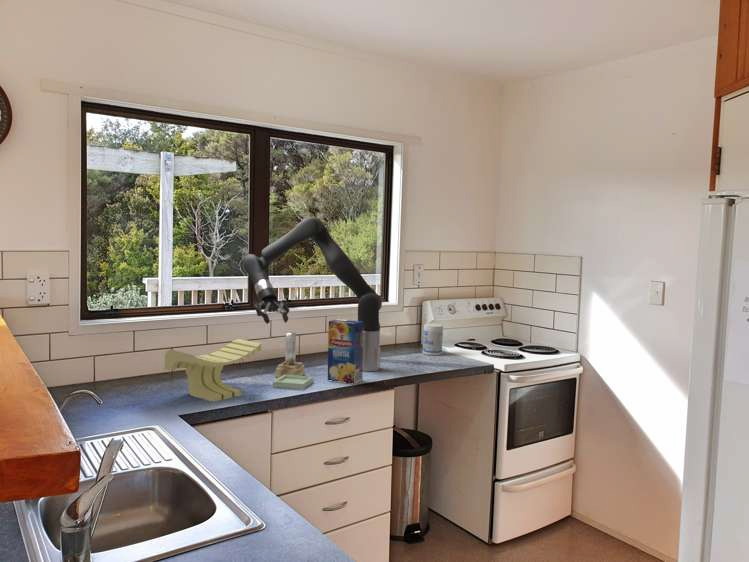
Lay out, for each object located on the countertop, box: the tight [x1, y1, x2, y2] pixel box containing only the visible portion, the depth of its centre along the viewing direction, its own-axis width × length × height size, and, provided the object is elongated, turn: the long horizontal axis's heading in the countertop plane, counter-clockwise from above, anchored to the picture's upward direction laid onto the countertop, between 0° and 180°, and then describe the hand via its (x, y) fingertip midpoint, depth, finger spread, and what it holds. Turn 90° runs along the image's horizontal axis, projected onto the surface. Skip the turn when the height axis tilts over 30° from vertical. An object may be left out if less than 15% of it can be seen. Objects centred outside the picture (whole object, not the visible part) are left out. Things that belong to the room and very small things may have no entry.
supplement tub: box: [422, 323, 444, 357], centre depth 305 cm, size 10×10×15 cm
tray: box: [272, 375, 314, 390], centre depth 238 cm, size 12×12×2 cm
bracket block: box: [275, 361, 305, 379], centre depth 251 cm, size 9×9×5 cm
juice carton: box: [327, 318, 364, 385], centre depth 246 cm, size 12×8×24 cm, turn 65°
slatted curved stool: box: [164, 338, 262, 402], centre depth 222 cm, size 30×16×18 cm, turn 141°
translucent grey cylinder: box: [284, 331, 297, 366], centre depth 251 cm, size 4×4×14 cm
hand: (277, 321), depth 259 cm, fingers open, 8 cm apart
